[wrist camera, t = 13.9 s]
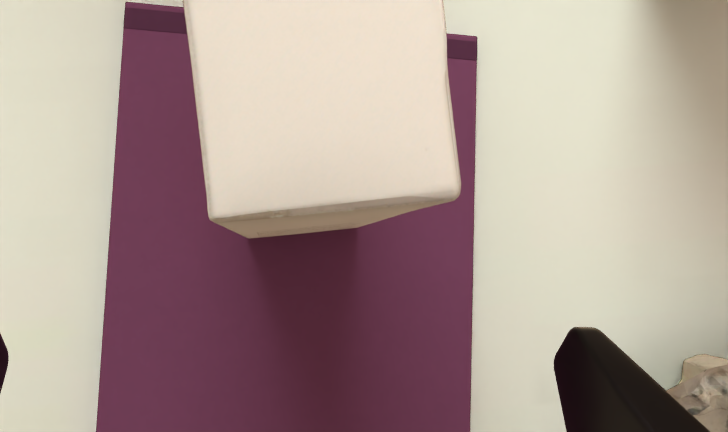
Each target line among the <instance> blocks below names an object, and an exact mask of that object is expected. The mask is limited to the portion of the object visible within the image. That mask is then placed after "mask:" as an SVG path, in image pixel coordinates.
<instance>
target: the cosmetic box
mask: <svg viewBox="0 0 728 432" xmlns="http://www.w3.org/2000/svg"><path fill="white" fill-rule="evenodd" d="M183 5H184V12H185V20H186V27H187V35H188V42H189V50H190V57H191V66H192V75H193V83H194V92H195V101H196V109H197V118H198V126H199V134H200V143H201V152H202V162H203V171H204V179H205V187H206V195H207V209H208V217H209V219H210V220H211V221H213V222H214V223H217V224H218V225H221V226H223V227H225V228H227V229H229V230H231V231H234V232H236V233H238V234H240V235H242V236H244V237H246V238H260V237H271V236H282V235H293V234H303V233H312V232H322V231H331V230H341V229H350V228H358V227H361V226H364V225H368V224H371V223H374V222H377V221H381V220H384V219H387V218H391V217H394V216H397V215H400V214H404V213H407V212H410V211H415V210H418V209H422V208H426V207H430V206H434V205H439V204H443V203H448V202H451V201H455V200H456V199H457V198H458V197H459V195H460V191H461V177H460V169H459V161H458V153H457V145H456V137H455V129H454V121H453V111H452V103H451V95H450V87H449V78H448V65H447V35H446V23H445V14H444V6H443V0H183Z"/></svg>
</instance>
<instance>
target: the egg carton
mask: <svg viewBox="0 0 728 432" xmlns="http://www.w3.org/2000/svg"><path fill="white" fill-rule="evenodd" d="M682 370H683V375H682V379H681V381H680V382H679V384H678V385H677V386H675V387H673V388H670V389H668V390H667V392H668V393H669V394H670V395H671V396H672V397H673V398H674V399H675V400H677V401H678V402H679V403H680V404H681V405H682V406H683V407H684V408H685V409H686V410H687V411H688V412H690V413H691V414H692V415H693V416H694V417H695V418H696V419H697V420H698V421H699V422H700V423H702V424H703V425H704V426H705V427H706V428H707V429H708V430H709V431H710V432H728V359H723V358H720V357H714V356H710V355H707V354H701V355H695V356H693V357H691V358H688V359H685V360H684V362H683V368H682Z"/></svg>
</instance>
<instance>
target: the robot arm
mask: <svg viewBox="0 0 728 432" xmlns="http://www.w3.org/2000/svg"><path fill="white" fill-rule="evenodd" d="M7 366H8V351H7V348H6V346H5V343H4V341H3V339H2V336H1V334H0V393H1V389H2V385H3V382H4V378H5V374H6V370H7ZM554 371H555V376H556V381H557V386H558V391H559V396H560V401H561V406H562V411H563V415H564V420H565V425H566V430H567V432H710V431H709V430H708V429H707V428H706V427H705V426H704V425H703V424H702V423H700V422H699V421H698V420H697V419H696V418H695V417H694V416H693V415H692V414H691V413H690V412H688V411H687V410H686V409H685V408H684V407H683V406H682V405H681V404H680V403H679V402H678V401H677V400H675V399H674V398H673V397H672V396H671V395H670V394H669V393H668V392H667V391H666V390H665V389H663V388H662V387H661V386H660V385H659V384H658V383H657V382H656V381H655V380H654V379H653V378H651V377H650V376H649V375H648V374H647V373H646V372H645V371H644V370H643V369H642V368H641V367H639V366H638V365H637V364H636V363H635V362H634V361H633V360H632V359H631V358H630V357H629V356H627V355H626V354H625V353H624V352H623V351H622V350H621V349H620V348H619V347H618V346H617V345H616V344H614V343H613V342H612V341H611V340H610V339H609V338H608V337H607V336H606V335H605V334H604V333H602V332H601V331H600V330H598V329H596V328H592V327H574V328H573V329H571V330H570V331H569V332H568V334H567V336H566V338H565V339H564V341H563V343H562V345H561V346H560V348H559V350H558V352H557V353H556V355H555V359H554Z"/></svg>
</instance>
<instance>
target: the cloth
mask: <svg viewBox="0 0 728 432" xmlns="http://www.w3.org/2000/svg"><path fill="white" fill-rule="evenodd" d="M446 35H447V65H448V78H449V87H450V95H451V103H452V111H453V121H454V129H455V137H456V145H457V153H458V161H459V169H460V177H461V191H460V195H459V197H458V198H457V199H456V200H455V201H451V202H448V203H443V204H439V205H434V206H430V207H426V208H422V209H418V210H415V211H410V212H407V213H404V214H400V215H397V216H394V217H391V218H387V219H384V220H381V221H377V222H374V223H371V224H368V225H364V226H361V227H358V228H350V229H341V230H331V231H322V232H312V233H303V234H293V235H282V236H271V237H260V238H246V237H244V236H242V235H240V234H238V233H236V232H234V231H231V230H229V229H227V228H225V227H223V226H221V225H218V224H217V223H214V222H213V221H211V220H210V219H209V217H208V209H207V195H206V187H205V179H204V171H203V162H202V152H201V143H200V134H199V126H198V118H197V109H196V101H195V92H194V83H193V75H192V66H191V57H190V50H189V42H188V35H187V27H186V20H185V12H184V7H174V6H163V5H153V4H143V3H133V2H126V3H125V15H124V32H123V46H122V61H121V76H120V90H119V105H118V119H117V134H116V149H115V163H114V178H113V193H112V207H111V222H110V236H109V251H108V266H107V280H106V295H105V309H104V324H103V339H102V353H101V368H100V382H99V397H98V412H97V426H96V432H470V401H471V345H472V290H473V235H474V179H475V124H476V68H477V37H476V36H467V35H457V34H447V33H446Z"/></svg>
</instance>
